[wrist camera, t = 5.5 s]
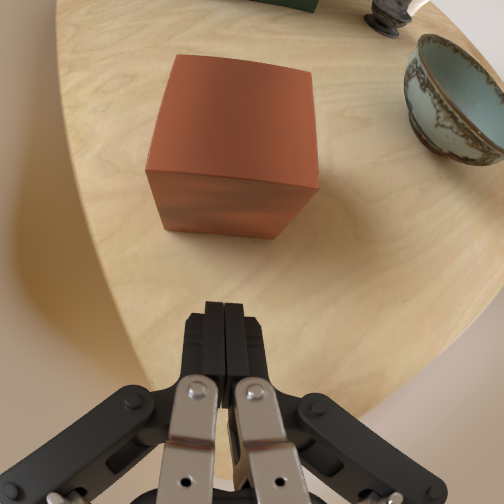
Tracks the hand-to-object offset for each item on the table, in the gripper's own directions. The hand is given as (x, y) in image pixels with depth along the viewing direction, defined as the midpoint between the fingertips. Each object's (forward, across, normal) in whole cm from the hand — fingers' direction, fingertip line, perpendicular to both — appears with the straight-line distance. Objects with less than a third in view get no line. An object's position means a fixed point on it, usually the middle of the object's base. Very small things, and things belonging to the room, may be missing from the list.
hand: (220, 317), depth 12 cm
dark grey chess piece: (+30, -18, -22) cm, 41 cm away
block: (+10, 0, -2) cm, 10 cm away
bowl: (+18, -20, -9) cm, 28 cm away
